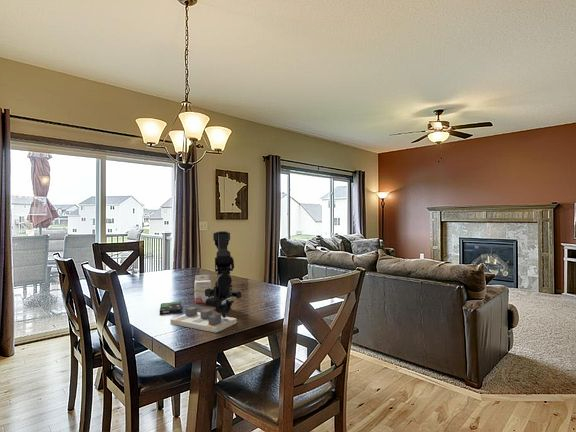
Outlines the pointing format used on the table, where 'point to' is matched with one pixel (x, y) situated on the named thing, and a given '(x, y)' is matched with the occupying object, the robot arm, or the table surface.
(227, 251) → the robot arm
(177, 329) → the table surface
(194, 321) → the switch panel
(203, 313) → the tab middle
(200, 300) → the ink cartridge box
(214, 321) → the tab
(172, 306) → the disk drive
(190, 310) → the tab
